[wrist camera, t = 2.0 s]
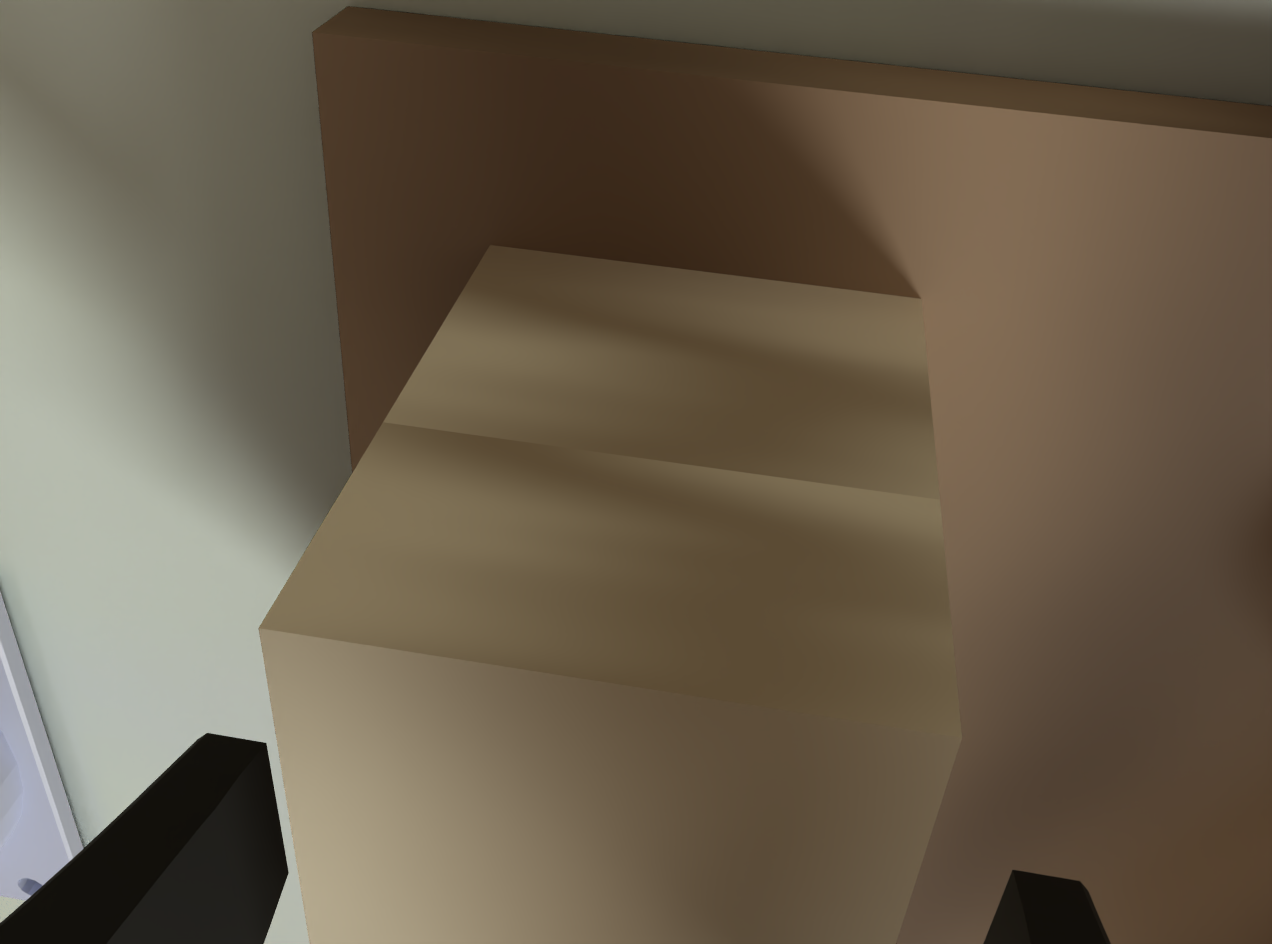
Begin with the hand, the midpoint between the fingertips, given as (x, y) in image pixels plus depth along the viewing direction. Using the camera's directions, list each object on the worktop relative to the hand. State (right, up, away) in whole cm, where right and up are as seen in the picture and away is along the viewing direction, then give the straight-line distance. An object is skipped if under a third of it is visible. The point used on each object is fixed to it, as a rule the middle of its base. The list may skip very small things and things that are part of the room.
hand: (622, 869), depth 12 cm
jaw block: (+1, +2, +3) cm, 4 cm away
